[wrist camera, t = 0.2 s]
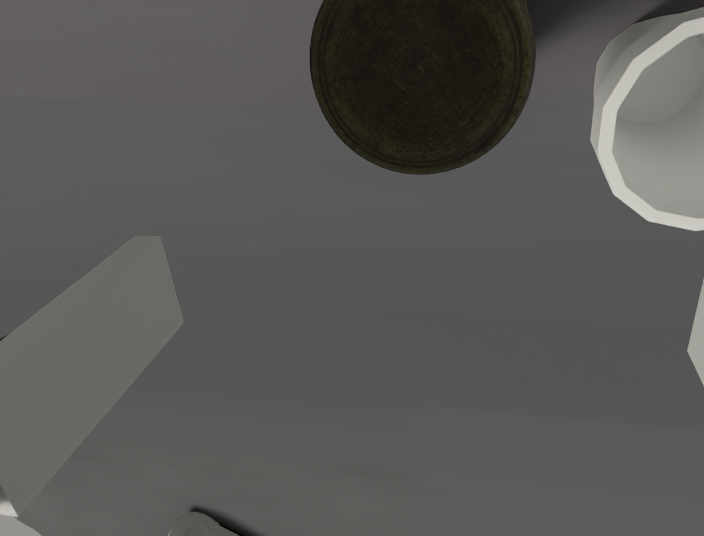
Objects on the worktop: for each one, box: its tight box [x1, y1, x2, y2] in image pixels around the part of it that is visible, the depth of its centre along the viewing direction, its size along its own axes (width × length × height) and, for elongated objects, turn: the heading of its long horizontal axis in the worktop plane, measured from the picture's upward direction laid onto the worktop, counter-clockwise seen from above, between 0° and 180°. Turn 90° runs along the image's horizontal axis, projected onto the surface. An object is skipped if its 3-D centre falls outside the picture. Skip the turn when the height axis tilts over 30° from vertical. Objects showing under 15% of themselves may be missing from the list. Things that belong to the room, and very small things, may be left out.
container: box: [310, 0, 536, 174], centre depth 28 cm, size 9×9×18 cm
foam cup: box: [590, 7, 704, 231], centre depth 29 cm, size 10×9×13 cm
